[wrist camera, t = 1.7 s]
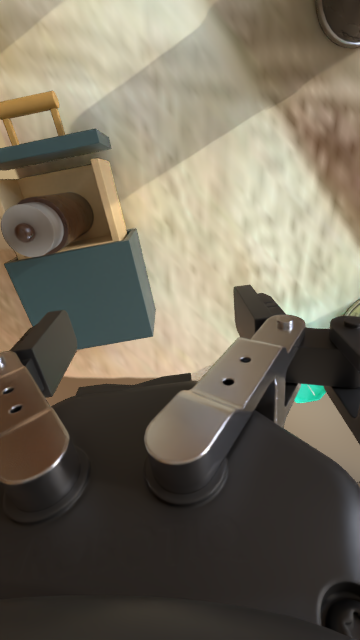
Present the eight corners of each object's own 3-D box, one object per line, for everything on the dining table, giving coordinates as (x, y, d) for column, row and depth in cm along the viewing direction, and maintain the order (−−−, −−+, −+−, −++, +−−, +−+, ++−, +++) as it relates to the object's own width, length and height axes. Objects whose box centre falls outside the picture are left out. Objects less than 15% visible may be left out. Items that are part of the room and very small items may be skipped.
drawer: (-16, 118, 33) (-57, 105, 27) (98, 94, 32) (82, 74, 26) (38, 253, 39) (15, 266, 33) (132, 235, 39) (126, 245, 33)
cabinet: (34, 247, 40) (3, 263, 32) (136, 228, 39) (128, 240, 32) (65, 325, 45) (45, 355, 38) (155, 309, 45) (153, 336, 37)
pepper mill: (45, 196, 35) (-26, 206, 23) (86, 188, 35) (39, 194, 22) (60, 239, 38) (4, 270, 25) (99, 231, 37) (62, 259, 25)
